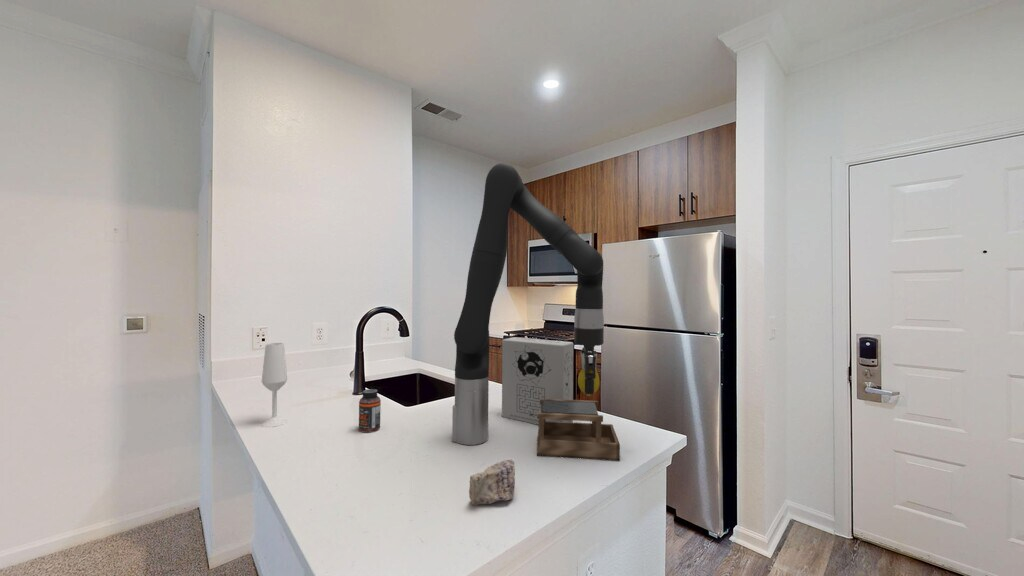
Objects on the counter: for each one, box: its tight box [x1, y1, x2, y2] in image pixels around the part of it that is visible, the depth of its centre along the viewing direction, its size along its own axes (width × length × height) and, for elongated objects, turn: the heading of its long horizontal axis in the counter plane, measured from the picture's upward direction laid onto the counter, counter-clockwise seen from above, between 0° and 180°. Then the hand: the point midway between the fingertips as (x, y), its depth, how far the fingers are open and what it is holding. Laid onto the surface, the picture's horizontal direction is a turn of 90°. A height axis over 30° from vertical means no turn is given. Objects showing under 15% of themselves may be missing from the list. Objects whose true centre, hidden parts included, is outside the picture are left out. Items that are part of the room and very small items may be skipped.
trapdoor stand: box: [536, 399, 621, 462], centre depth 103 cm, size 20×14×10 cm
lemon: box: [577, 369, 600, 397], centre depth 103 cm, size 6×6×8 cm
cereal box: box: [501, 336, 574, 426], centre depth 124 cm, size 22×8×25 cm, turn 58°
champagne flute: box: [261, 342, 288, 428], centre depth 120 cm, size 7×7×24 cm
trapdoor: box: [542, 400, 599, 421], centre depth 104 cm, size 14×10×2 cm
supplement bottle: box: [358, 388, 382, 433], centre depth 115 cm, size 6×6×11 cm
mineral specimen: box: [468, 459, 516, 506], centre depth 79 cm, size 13×7×6 cm, turn 147°
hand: (588, 390), depth 103 cm, fingers closed on lemon, 5 cm apart
